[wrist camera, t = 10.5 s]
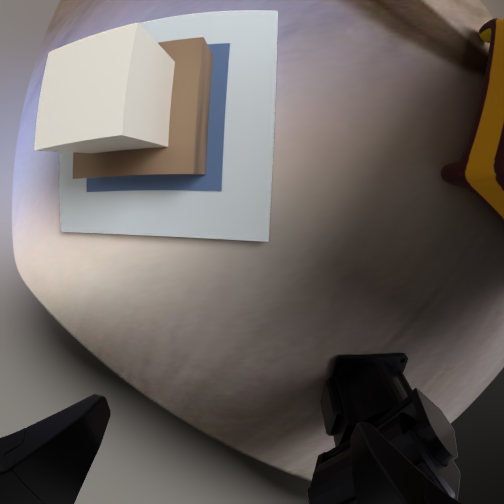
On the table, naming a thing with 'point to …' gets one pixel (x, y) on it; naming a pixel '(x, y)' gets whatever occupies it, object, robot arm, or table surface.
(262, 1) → the table surface
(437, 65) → the table surface
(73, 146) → the plastic cube
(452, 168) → the decorative lantern
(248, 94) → the board
